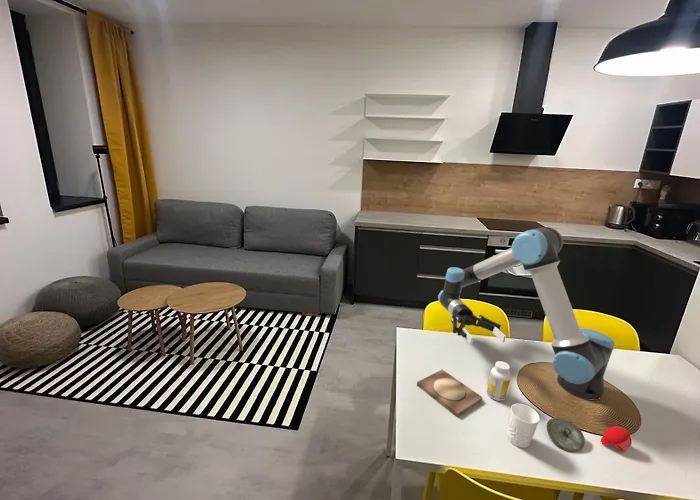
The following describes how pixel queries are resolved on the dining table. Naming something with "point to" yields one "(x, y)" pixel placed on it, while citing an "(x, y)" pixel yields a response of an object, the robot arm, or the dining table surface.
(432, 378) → the walnut board
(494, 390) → the supplement bottle
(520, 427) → the white cup
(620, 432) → the cap
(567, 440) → the lid
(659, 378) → the dining table surface
